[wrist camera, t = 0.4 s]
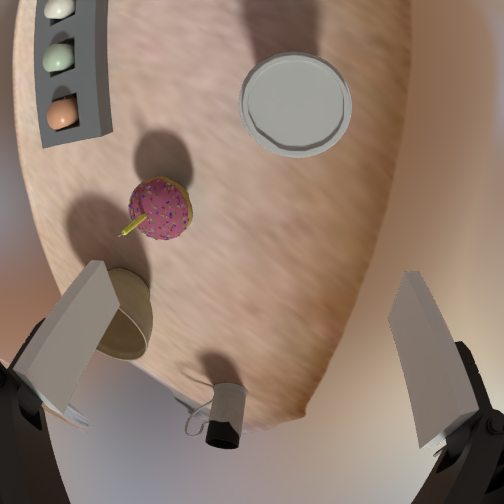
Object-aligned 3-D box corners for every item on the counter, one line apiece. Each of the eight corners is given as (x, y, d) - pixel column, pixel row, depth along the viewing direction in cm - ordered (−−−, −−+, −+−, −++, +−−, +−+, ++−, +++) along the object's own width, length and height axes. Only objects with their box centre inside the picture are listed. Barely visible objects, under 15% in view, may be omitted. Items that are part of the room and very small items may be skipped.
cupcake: (145, 218, 41) (107, 264, 31) (143, 164, 36) (97, 198, 26) (199, 226, 41) (173, 278, 31) (203, 170, 36) (172, 208, 26)
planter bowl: (98, 235, 44) (63, 274, 35) (179, 281, 47) (158, 328, 38) (86, 292, 52) (61, 329, 43) (153, 330, 55) (135, 372, 46)
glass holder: (251, 399, 67) (245, 450, 55) (200, 398, 70) (189, 446, 58) (243, 382, 63) (235, 439, 50) (188, 381, 66) (174, 433, 53)
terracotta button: (60, 101, 30) (45, 104, 27) (80, 94, 30) (65, 98, 27) (63, 126, 32) (48, 131, 29) (83, 121, 32) (68, 126, 29)
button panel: (49, -1, 21) (37, -2, 18) (110, -29, 20) (99, -34, 17) (54, 143, 35) (42, 148, 32) (112, 131, 34) (101, 136, 31)
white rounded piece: (60, 1, 21) (45, -1, 18) (80, -9, 20) (65, -12, 17) (58, 23, 23) (43, 22, 20) (79, 13, 22) (63, 11, 19)
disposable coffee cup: (238, 78, 30) (217, 76, 20) (313, 52, 27) (329, 35, 17) (269, 147, 34) (264, 177, 24) (342, 122, 31) (370, 142, 21)
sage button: (58, 48, 25) (42, 49, 22) (78, 40, 25) (62, 39, 22) (58, 72, 27) (43, 75, 24) (78, 65, 27) (63, 66, 24)
